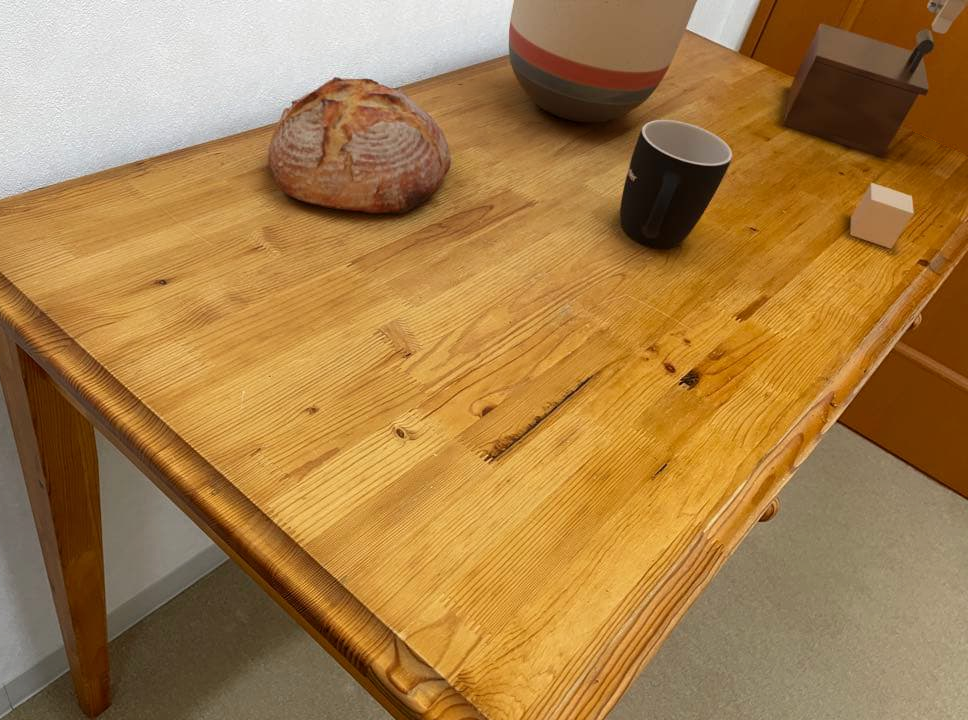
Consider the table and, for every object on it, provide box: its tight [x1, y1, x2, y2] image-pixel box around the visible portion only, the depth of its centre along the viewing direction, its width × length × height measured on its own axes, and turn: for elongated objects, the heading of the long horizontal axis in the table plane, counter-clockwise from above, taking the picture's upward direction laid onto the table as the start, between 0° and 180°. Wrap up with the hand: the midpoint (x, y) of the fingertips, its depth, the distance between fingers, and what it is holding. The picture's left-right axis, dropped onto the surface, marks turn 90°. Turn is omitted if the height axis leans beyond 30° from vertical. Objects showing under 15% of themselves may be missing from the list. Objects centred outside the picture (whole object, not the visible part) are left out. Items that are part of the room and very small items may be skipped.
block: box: [849, 182, 915, 249], centre depth 95 cm, size 5×5×5 cm
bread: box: [267, 76, 452, 215], centre depth 82 cm, size 16×20×10 cm
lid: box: [814, 23, 935, 97], centre depth 113 cm, size 14×16×5 cm
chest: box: [782, 29, 920, 158], centre depth 118 cm, size 14×16×9 cm
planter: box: [508, 0, 698, 123], centre depth 100 cm, size 20×20×21 cm
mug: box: [619, 119, 733, 250], centre depth 83 cm, size 12×9×10 cm
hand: (934, 21), depth 109 cm, fingers open, 8 cm apart
